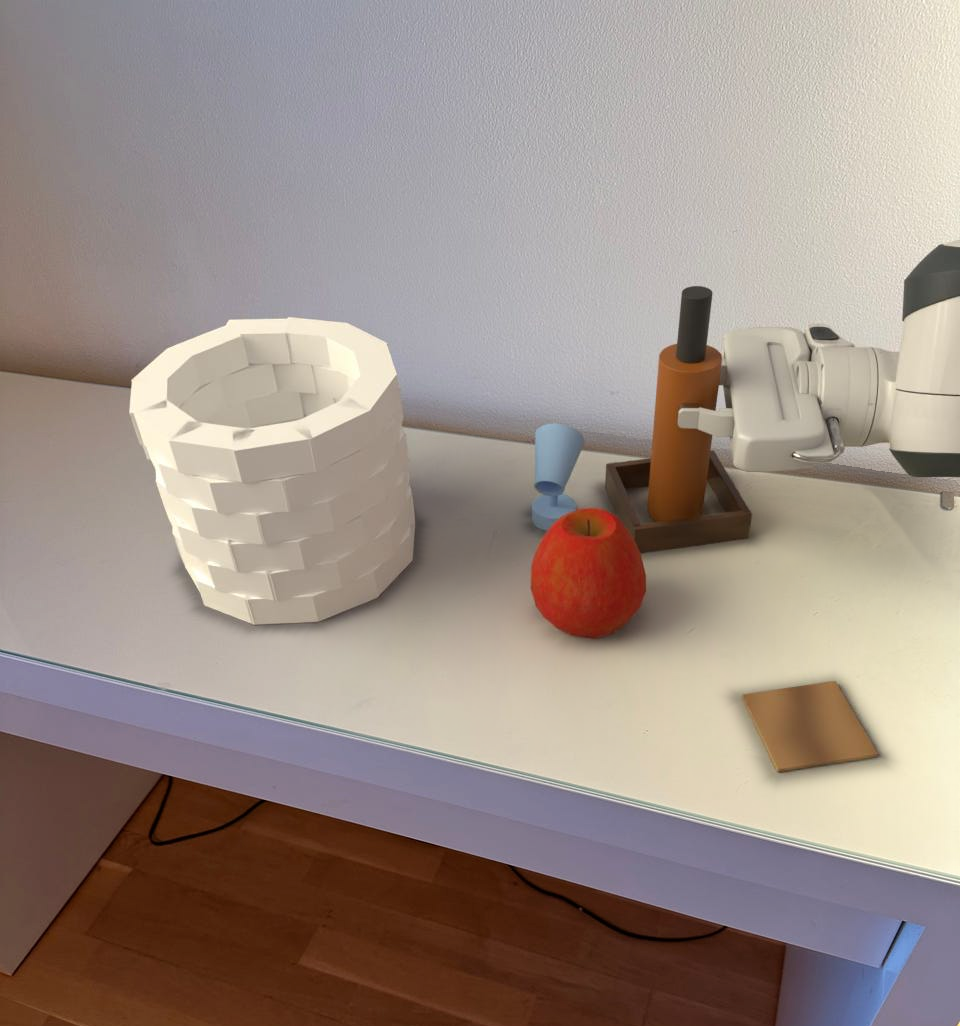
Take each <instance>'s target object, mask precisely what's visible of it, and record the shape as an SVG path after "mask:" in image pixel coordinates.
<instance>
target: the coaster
mask: <svg viewBox="0 0 960 1026" xmlns="http://www.w3.org/2000/svg"><path fill="white" fill-rule="evenodd" d="M741 699H742V701H743V703H744V705H745V707H746V710H747V711H748V714H749V716H750V718H751V720H752V722H753V725H754V727H755V728H756V730H757V733H758V735H759V737H760V739H761V741H762V743H763V746H764V747H765V749H766V751H767V753H768V756H769V758H770V759H771V762H772V764H773V766H774V768H775V770H776V772H777V773H782V772H788V771H789V772H790V771H795V770H801V769H808V768H814V767H815V768H816V767H821V766H828V765H835V764H842V763H848V762H853V761H861V760H866V759H873V758H878V755H879V753H878V751H877V750H876V748H875V746H874V744H873V743H872V741H871V739H870V737H869V735H868V734H867V733H866V731H865V729H864V727H863V726H862V723H861V722H860V720H859V719H858V717H857V715H856V713H855V711H854V710H853V709H852V707H851V705H850V703H849V702H848V700H847V698H846V696H845V695H844V693H843V691H842V690H841V688H840V686H839V684H838V683H837V681H836V680H833V681H826V682H825V681H824V682H819V683H812V684H804V685H798V686H791V687H785V688H778V689H770V690H763V691H757V692H750V693H743V694H742V695H741Z"/></svg>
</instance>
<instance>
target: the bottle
mask: <svg viewBox="0 0 960 1026" xmlns="http://www.w3.org/2000/svg"><path fill="white" fill-rule="evenodd" d="M713 295H714V294H713V291H712V289H710V288H709V287H706V286H701V285H692V286H687V287H684V289H682V290H681V297H680V307H679V319H678V330H677V339H676V340H677V341H676V343H673V344H670V345H668V346H666V347H664V348H663V349H662V350H661V351H660V352H659V355H658V366H657V377H656V378H657V379H656V391H655V393H656V394H655V404H654V415H653V429H652V441H651V454H650V458H651V465H650V478H649V486H648V492H647V502H646V503H647V506H646V511H647V514H648V516H649V518H651V519H652V520H653V521H654V522H659V521H667V520H674V519H682V518H689V517H697V516H703V512H704V505H705V496H706V488H707V483H708V481H707V474H708V466H709V458H710V451H711V450H712V441H713V435H711V434H709V433H706V432H703V431H701V430H698V429H692V428H680V427H679V426H678V417H677V416H678V407H679V405H680V404H681V403H688V404H689V403H699V407H700V408H705V409H709V410H713V411H717V403H718V396H719V395H718V394H719V387H720V385H719V381H720V373H721V365H722V355H721V351H719V350H718V349H717V348H715V347H713V346H711V345H708V337H709V328H710V321H711V320H710V319H711V312H712V303H713V302H712V301H713Z"/></svg>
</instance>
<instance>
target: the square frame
mask: <svg viewBox="0 0 960 1026" xmlns="http://www.w3.org/2000/svg"><path fill="white" fill-rule="evenodd" d="M650 465H651V457H649V458H641V459H633V460H626V461H618V462H617V461H616V462H610V463H609V462H608V463H606V464H605V478H604V479H605V480H604V481H605V482H604V488H605V491H606V493H607V496H608V499H609V500H610V502H611V505H612V508H613V510H614V512H615V515H616V516H617V517H618V518H619V519H620V521H621V522H622V523H623V524H624V526H625V527H626V528H627V529H628V531H629V532H630V534H631V536H632V537H633V539H634V541H635V543H636V545H637V547H638V549H639V551H640V553H641V554H644V553H651V552H652V553H653V552H660V551H668V550H673V549H681V548H689V547H695V546H703V545H710V544H711V545H712V544H718V543H725V542H733V541H741V540H748V539H749V535H750V531H751V530H750V529H751V524H752V518H753V513H752V511H751V510H750V508H749V506H748V504H747V503H746V501H745V500H744V498H743V496H742V495H741V493H740V491H739V489H738V488H737V486H736V485H735V483H734V481H733V480H732V478H731V477H730V475H729V473H728V471H727V469H726V468H725V467H724V465H723V463H722V461H721V460H720V458H719V457H718V455H717V453H716V452H715V450H713V449H711V451H710V458H709V466H708V474H707V484H708V486H709V487H710V488H711V490H712V492H713V494H714V496H715V498H716V499H717V501H718V502H719V504H720V507H721V508H722V510H723V511H724V512H720V513H713V514H705V515H702V516H697V517H689V518H682V519H674V520H667V521H659V522H656V521H653V522H645V523H641V521H640V519H639V517H638V514H637V512H636V510H635V508H634V505H633V503H632V501H631V499H630V497H629V495H628V491H627V490H631V489H638V488H645V487H646V488H647V487H649V478H650Z"/></svg>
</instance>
